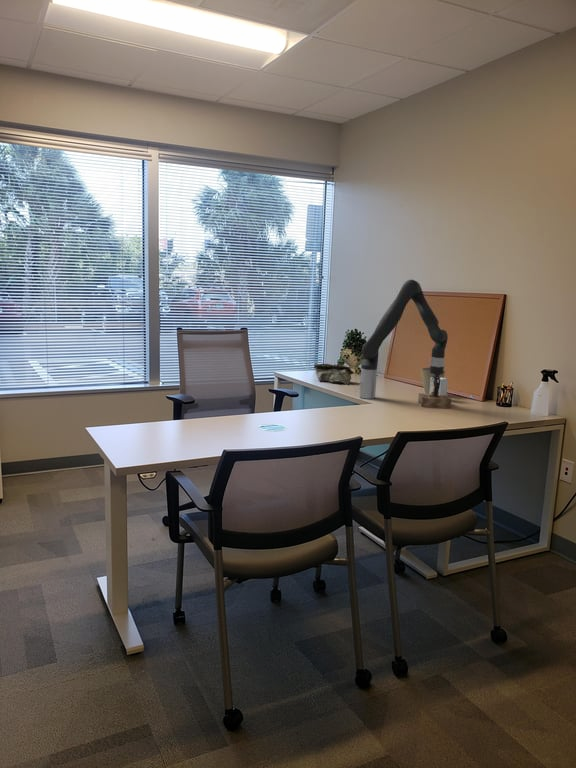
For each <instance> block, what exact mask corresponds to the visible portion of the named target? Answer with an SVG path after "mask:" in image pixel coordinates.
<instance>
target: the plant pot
mask: <svg viewBox="0 0 576 768" xmlns="http://www.w3.org/2000/svg"><path fill="white" fill-rule="evenodd" d="M420 373H421V374H420V375H421V381H422V386H423V389H424V394H429V392H430V379H431V377H432V376H433V374H431V373H430V366H429V367H421V368H420ZM445 373H446V369H445V368H444V373H443V374H440V375H439V377H441V378H445Z"/></svg>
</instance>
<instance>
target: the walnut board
mask: <svg viewBox="0 0 576 768" xmlns="http://www.w3.org/2000/svg"><path fill="white" fill-rule="evenodd" d="M417 403H418V404H419V405H420V407H421V408H435V409H451V408H452V398H451V397H449V395H448V394H447V395H441V394H439V396H438V397H431V394H426V393H418V401H417Z"/></svg>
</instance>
